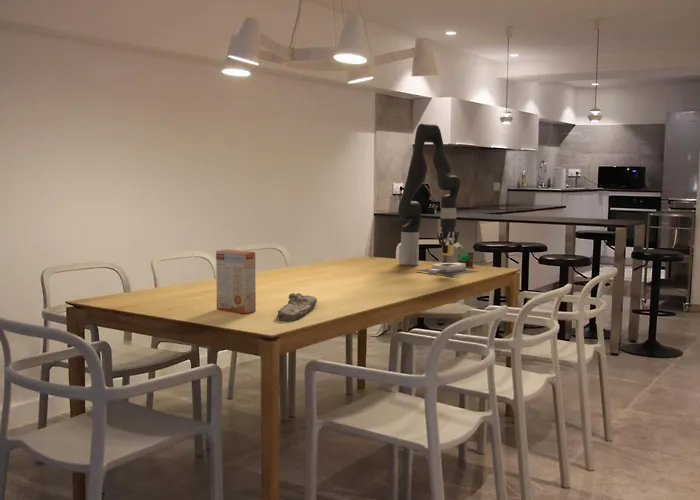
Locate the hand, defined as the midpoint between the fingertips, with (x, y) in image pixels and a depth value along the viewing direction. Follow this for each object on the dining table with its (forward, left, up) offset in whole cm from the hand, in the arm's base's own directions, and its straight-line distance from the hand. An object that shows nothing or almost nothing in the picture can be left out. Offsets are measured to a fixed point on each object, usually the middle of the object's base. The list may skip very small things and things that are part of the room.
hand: (447, 252), depth 349 cm
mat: (0, 0, -10) cm, 10 cm away
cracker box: (+15, -131, -10) cm, 132 cm away
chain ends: (0, 0, -10) cm, 10 cm away
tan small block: (0, 0, -1) cm, 1 cm away
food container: (-10, +24, -10) cm, 28 cm away
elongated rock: (+29, -115, -10) cm, 120 cm away
